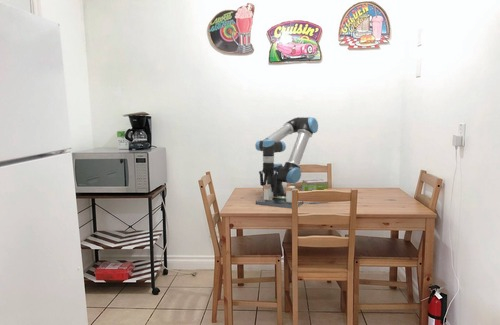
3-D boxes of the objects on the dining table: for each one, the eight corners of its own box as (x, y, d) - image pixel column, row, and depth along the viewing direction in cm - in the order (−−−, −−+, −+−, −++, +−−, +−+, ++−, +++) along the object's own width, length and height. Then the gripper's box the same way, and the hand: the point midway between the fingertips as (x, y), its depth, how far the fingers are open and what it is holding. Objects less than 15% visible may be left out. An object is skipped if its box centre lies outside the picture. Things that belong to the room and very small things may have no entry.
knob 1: (267, 198, 244) (267, 183, 243) (274, 198, 242) (274, 183, 241) (262, 200, 237) (262, 185, 235) (269, 201, 235) (269, 186, 233)
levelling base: (265, 199, 250) (265, 193, 249) (302, 203, 237) (303, 197, 237) (255, 204, 235) (255, 198, 235) (295, 208, 223) (295, 202, 223)
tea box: (308, 204, 235) (308, 182, 233) (301, 200, 245) (301, 179, 243) (328, 202, 239) (328, 181, 237) (321, 199, 249) (321, 178, 247)
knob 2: (289, 200, 237) (289, 185, 236) (296, 201, 235) (296, 185, 234) (284, 203, 230) (284, 187, 228) (292, 203, 228) (292, 188, 226)
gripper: (254, 162, 236) (255, 196, 239) (277, 163, 229) (277, 198, 232) (259, 160, 243) (259, 193, 246) (282, 162, 236) (281, 196, 239)
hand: (268, 196), depth 239 cm, fingers closed on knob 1, 4 cm apart
